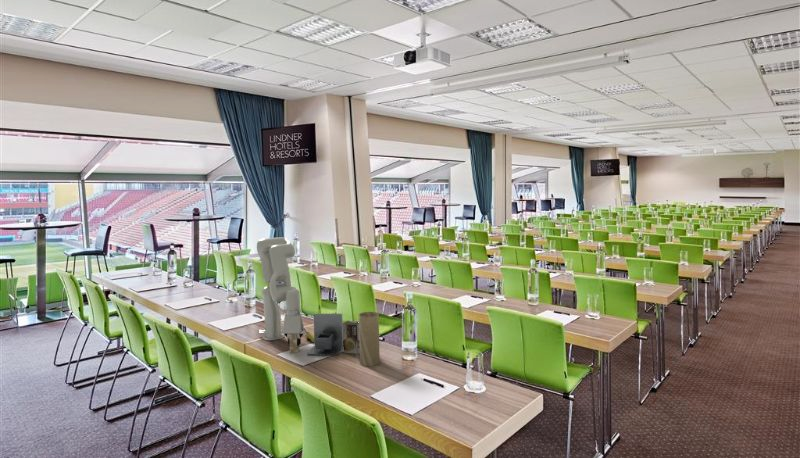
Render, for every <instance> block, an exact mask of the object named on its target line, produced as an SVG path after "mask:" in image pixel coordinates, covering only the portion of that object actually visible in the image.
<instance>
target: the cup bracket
mask: <svg viewBox="0 0 800 458" xmlns="http://www.w3.org/2000/svg"><path fill="white" fill-rule="evenodd" d="M343 321H344V320H343V313H324V312H323V313H318V312H317V313H316V312H314V313H313V333H314V342H313V343H314V346H313V347H311V349H310V350H309V352H308V353H307V354H306V355H307V356H308V357H309V356H310V357H338V355H339V353H341V351H342V350H343V328H342V324H343V323H344V322H343Z"/></svg>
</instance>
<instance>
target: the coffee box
mask: <svg viewBox="0 0 800 458" xmlns="http://www.w3.org/2000/svg"><path fill="white" fill-rule="evenodd" d="M358 322H359V320H358V321H355V320H346V321H345V322H343V324H342V328H343V348H342V351H343V353H344V354H345V353H346V354H355V355H360V340H359V323H358Z"/></svg>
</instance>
